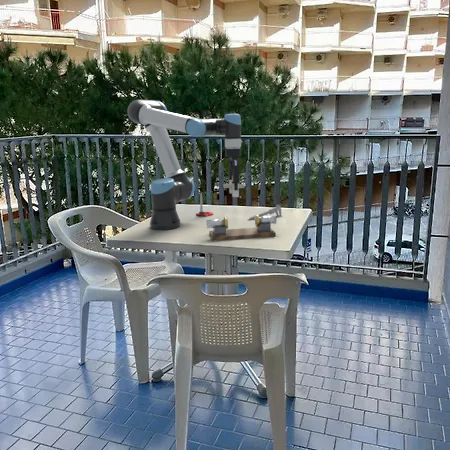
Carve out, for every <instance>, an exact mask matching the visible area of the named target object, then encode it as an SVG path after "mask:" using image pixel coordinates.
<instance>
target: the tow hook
mask: <svg viewBox="0 0 450 450" xmlns="http://www.w3.org/2000/svg"><path fill="white" fill-rule="evenodd" d="M199 194H200V196H199V199H200V200H199V201H200V202H199V205H200V206H199V212H198V213H197V212H196V213H195V217H198V216H199V217H208V216H213V215H214V213H213V212H212V211H204V206H203V192H200V193H199ZM205 213H208V214H205Z"/></svg>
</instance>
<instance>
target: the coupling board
mask: <svg viewBox="0 0 450 450" xmlns="http://www.w3.org/2000/svg"><path fill="white" fill-rule="evenodd" d="M208 231H209V236H210V238H211V241H212V242H213V241H214V242H215V240H216V241H223V240H224V241H226V240H228V241H229V240H238V239H239V240H241V239H255V238H267V237H276V235H277V234H276V232H275V231H274V229H273V228H271V231H269V232H259V231H258V230H257V227H256V226H255V227H245V228H243V227H242V228H229V229H226V235H214V232H213V230H208Z"/></svg>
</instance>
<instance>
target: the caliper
mask: <svg viewBox="0 0 450 450" xmlns="http://www.w3.org/2000/svg"><path fill="white" fill-rule="evenodd" d="M275 205H276V206H275V207H272V208H270V209H268V210H266V211H263V212H261V213H258V214H257V215H259V217H263V216H268V215H273V214H275V216H276V217H277V216H282V206H281V205H280V204H275ZM253 220H255V215H253V216H250V217H249V218H248V219H247V221H253Z"/></svg>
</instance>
